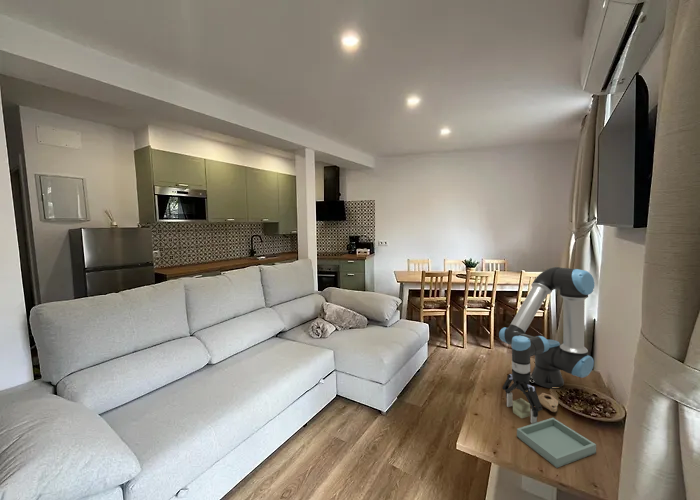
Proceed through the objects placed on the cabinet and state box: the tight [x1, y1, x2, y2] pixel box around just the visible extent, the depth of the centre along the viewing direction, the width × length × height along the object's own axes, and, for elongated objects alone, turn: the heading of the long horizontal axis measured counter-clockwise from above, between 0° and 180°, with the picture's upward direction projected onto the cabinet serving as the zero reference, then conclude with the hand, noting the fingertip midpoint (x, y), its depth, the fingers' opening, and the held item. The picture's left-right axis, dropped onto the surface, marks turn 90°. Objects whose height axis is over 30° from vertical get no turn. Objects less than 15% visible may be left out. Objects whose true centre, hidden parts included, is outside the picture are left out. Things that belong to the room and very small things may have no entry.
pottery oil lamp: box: [537, 392, 559, 413], centre depth 148 cm, size 9×12×7 cm
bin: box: [516, 417, 597, 469], centre depth 125 cm, size 20×18×4 cm
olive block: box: [512, 397, 531, 419], centre depth 145 cm, size 5×5×6 cm
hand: (521, 414), depth 145 cm, fingers open, 13 cm apart
